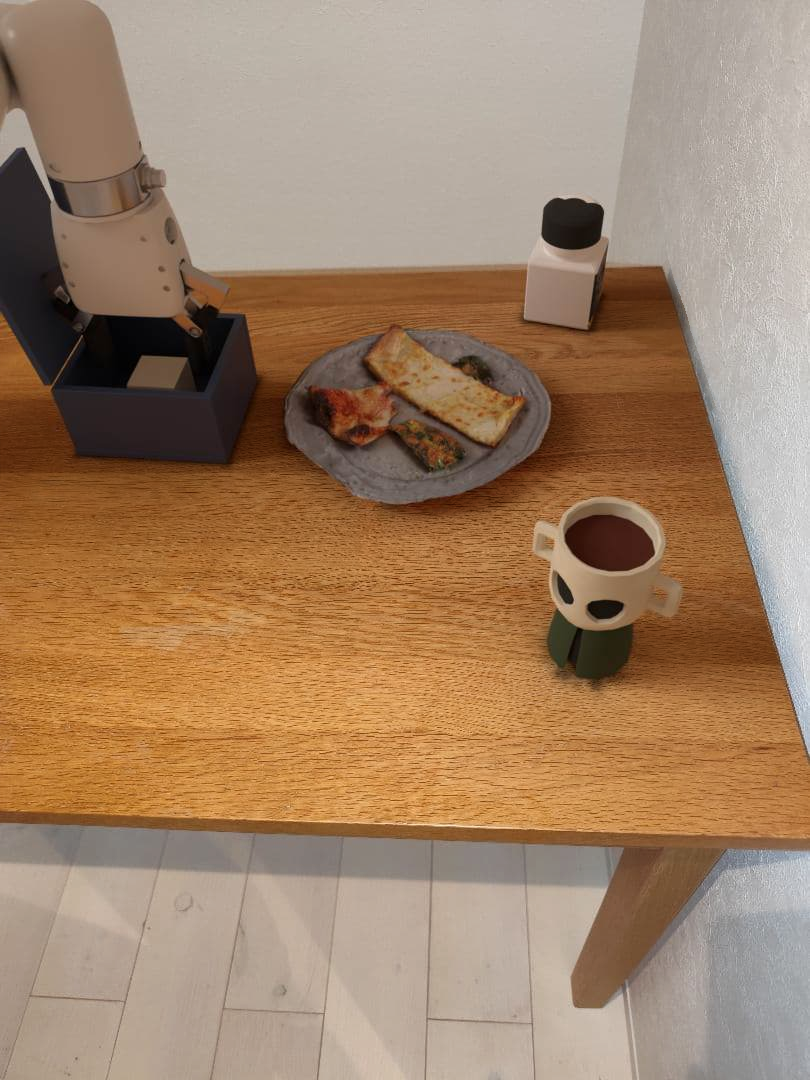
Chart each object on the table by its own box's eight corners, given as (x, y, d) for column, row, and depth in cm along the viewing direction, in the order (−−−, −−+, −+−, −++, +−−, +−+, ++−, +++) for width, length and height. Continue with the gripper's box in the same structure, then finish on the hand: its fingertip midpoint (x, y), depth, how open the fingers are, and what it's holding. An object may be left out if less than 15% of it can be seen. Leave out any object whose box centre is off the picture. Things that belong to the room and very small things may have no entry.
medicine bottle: (588, 331, 94) (603, 226, 85) (522, 321, 96) (530, 216, 87) (601, 295, 99) (616, 191, 90) (537, 285, 101) (547, 183, 92)
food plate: (241, 414, 87) (235, 385, 85) (419, 318, 97) (418, 290, 94) (409, 556, 74) (407, 527, 72) (595, 429, 84) (599, 400, 81)
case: (258, 378, 91) (245, 313, 85) (227, 464, 83) (210, 398, 77) (121, 372, 93) (99, 307, 87) (77, 455, 84) (49, 389, 78)
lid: (24, 146, 75) (16, 147, 75) (-43, 222, 67) (-52, 224, 67) (101, 303, 86) (94, 304, 86) (52, 385, 78) (44, 386, 78)
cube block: (138, 423, 86) (126, 385, 82) (153, 393, 89) (141, 355, 85) (185, 425, 85) (174, 387, 82) (198, 395, 88) (188, 357, 85)
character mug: (501, 648, 68) (510, 534, 58) (547, 587, 72) (562, 470, 62) (633, 718, 64) (666, 607, 54) (674, 649, 67) (712, 534, 58)
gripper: (220, 163, 71) (254, 342, 84) (15, 157, 73) (78, 334, 86) (195, 210, 67) (234, 393, 79) (-25, 203, 68) (49, 383, 81)
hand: (153, 362), depth 83 cm, fingers open, 8 cm apart
